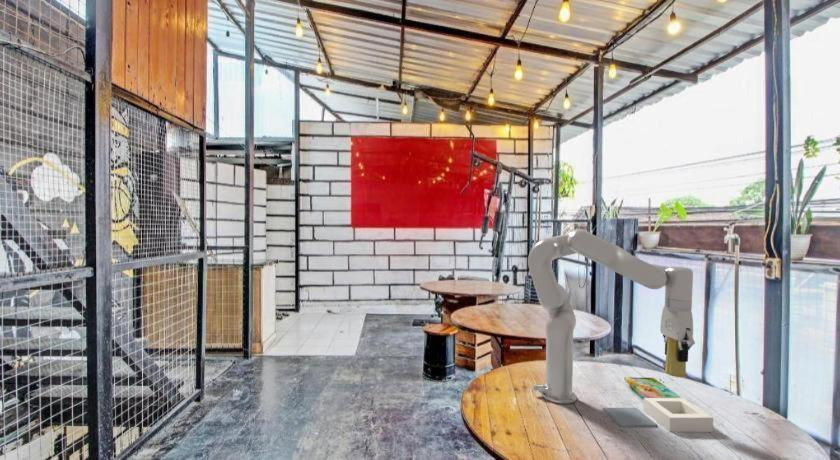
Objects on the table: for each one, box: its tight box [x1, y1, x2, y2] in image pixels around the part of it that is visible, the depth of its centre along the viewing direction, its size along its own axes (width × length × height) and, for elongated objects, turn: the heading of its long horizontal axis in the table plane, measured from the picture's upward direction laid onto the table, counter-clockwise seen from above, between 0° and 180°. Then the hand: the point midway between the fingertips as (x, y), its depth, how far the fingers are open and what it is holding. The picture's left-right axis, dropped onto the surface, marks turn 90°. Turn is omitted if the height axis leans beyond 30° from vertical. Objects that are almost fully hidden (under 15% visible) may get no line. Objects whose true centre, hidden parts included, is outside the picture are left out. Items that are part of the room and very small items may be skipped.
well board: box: [643, 397, 714, 433], centre depth 132 cm, size 14×14×4 cm
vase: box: [664, 337, 687, 378], centre depth 132 cm, size 6×6×14 cm
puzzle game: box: [623, 376, 682, 401], centre depth 151 cm, size 12×5×20 cm
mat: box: [602, 407, 658, 428], centre depth 134 cm, size 12×12×1 cm
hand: (676, 357), depth 132 cm, fingers closed on vase, 5 cm apart
